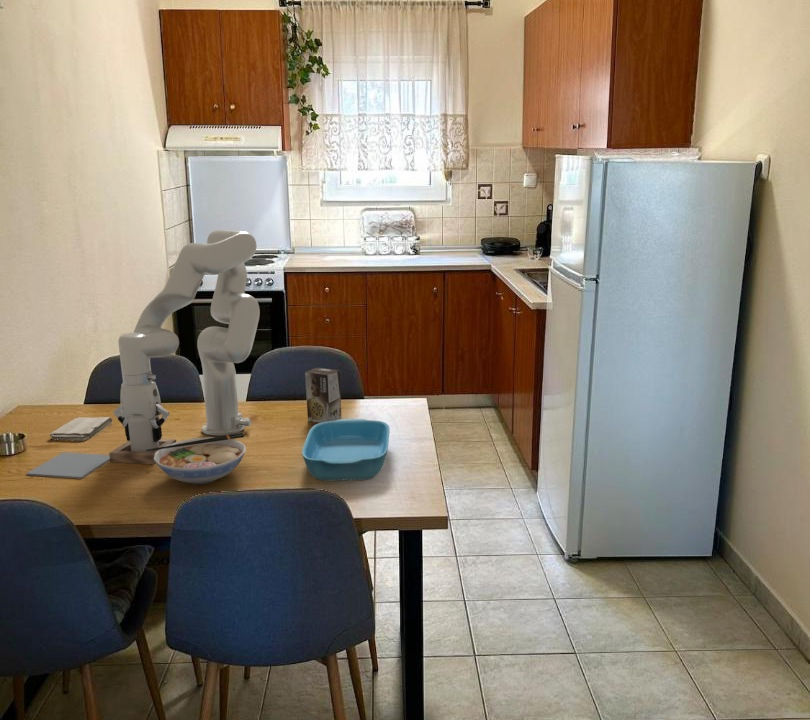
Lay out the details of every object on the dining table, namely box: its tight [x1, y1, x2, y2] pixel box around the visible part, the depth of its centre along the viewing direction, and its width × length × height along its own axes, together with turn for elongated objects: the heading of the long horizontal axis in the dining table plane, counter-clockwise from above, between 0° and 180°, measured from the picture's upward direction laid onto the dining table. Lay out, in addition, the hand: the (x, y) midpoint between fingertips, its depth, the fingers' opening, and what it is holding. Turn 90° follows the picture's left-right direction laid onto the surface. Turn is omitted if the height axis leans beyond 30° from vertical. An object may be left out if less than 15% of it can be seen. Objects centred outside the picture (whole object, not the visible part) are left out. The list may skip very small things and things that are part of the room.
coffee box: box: [304, 367, 343, 423], centre depth 248 cm, size 9×6×16 cm
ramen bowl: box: [146, 432, 246, 485], centre depth 203 cm, size 25×23×8 cm
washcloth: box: [49, 416, 113, 442], centre depth 243 cm, size 12×18×3 cm, turn 176°
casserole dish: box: [301, 418, 391, 482], centre depth 214 cm, size 37×22×7 cm, turn 0°
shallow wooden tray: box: [108, 438, 177, 465], centre depth 222 cm, size 13×13×2 cm
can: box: [128, 415, 159, 453], centre depth 221 cm, size 8×8×12 cm
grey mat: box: [26, 451, 110, 480], centre depth 215 cm, size 16×16×1 cm
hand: (144, 439), depth 222 cm, fingers closed on can, 7 cm apart
